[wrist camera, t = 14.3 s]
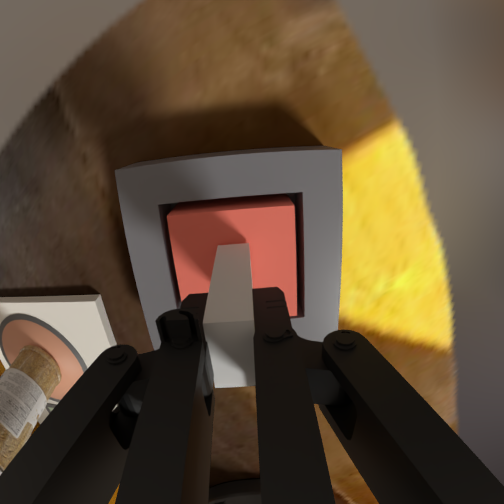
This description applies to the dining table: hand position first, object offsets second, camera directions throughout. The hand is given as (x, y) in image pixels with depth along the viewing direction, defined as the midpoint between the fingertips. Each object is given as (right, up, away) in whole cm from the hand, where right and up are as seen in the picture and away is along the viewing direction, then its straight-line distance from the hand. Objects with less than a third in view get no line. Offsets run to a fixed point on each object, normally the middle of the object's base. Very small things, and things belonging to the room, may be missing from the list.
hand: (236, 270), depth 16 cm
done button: (0, +1, +3) cm, 3 cm away
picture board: (-16, -11, +8) cm, 21 cm away
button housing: (0, +1, +4) cm, 4 cm away
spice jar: (-17, -9, +6) cm, 20 cm away
